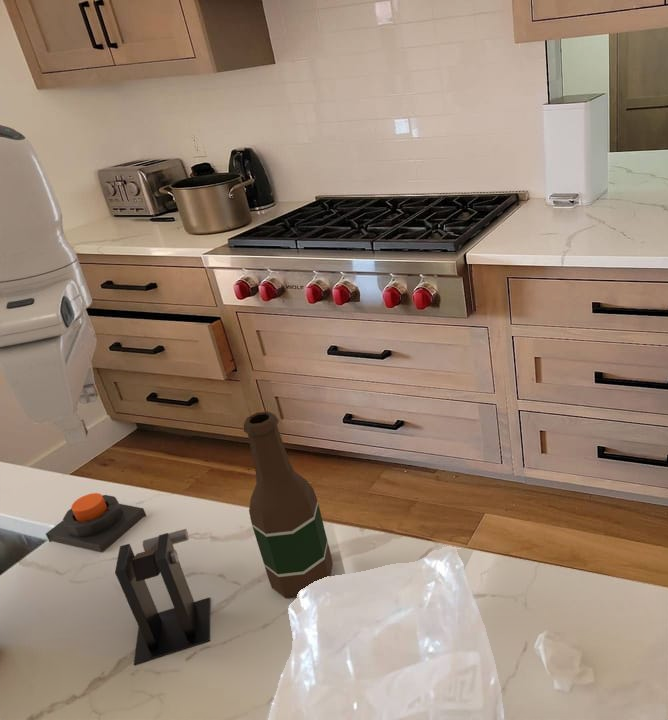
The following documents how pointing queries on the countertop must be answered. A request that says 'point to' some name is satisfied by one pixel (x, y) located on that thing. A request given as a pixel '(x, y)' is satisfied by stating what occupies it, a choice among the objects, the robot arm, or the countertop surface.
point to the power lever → (153, 556)
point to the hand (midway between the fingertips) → (84, 419)
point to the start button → (89, 507)
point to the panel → (97, 526)
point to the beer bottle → (284, 513)
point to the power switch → (170, 626)
